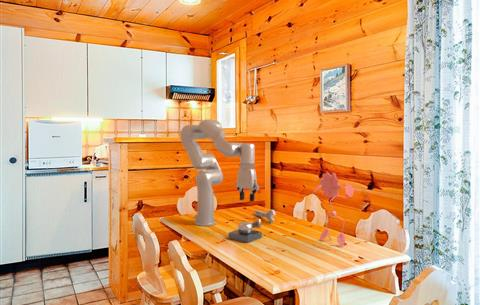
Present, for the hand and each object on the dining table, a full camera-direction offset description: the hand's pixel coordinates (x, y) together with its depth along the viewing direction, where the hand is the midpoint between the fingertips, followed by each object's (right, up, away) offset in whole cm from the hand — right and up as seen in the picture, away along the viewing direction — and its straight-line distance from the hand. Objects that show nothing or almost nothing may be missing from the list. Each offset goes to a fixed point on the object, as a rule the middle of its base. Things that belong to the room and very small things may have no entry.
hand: (246, 200), depth 191 cm
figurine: (+39, -19, -19) cm, 47 cm away
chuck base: (-1, -18, -9) cm, 20 cm away
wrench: (+11, -17, +33) cm, 39 cm away
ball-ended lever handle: (+2, -15, -6) cm, 16 cm away
